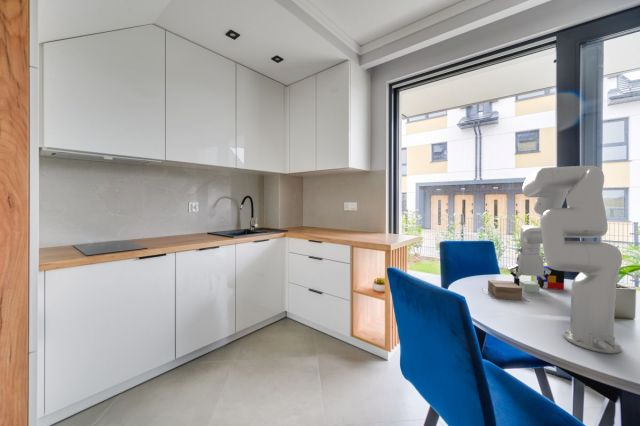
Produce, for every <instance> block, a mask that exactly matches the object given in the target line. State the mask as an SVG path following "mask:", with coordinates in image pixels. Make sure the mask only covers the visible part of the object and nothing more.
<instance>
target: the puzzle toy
mask: <svg viewBox="0 0 640 426" xmlns="http://www.w3.org/2000/svg"><path fill="white" fill-rule="evenodd" d="M544 268H546V269H549V270H551V273H550V274H549V276H548V277H547V278H546V279H545V280H544V286H543V288H541V287H540V289H551V290H562V291H564V290H565V273H566V271H559V270H554V269H551V268H550V267H549V266H548V265H547V264H544ZM545 272H546V271H545V270H544V273H545ZM538 278H539V276H530V281H534V282H535V283H537V284H538Z"/></svg>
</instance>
